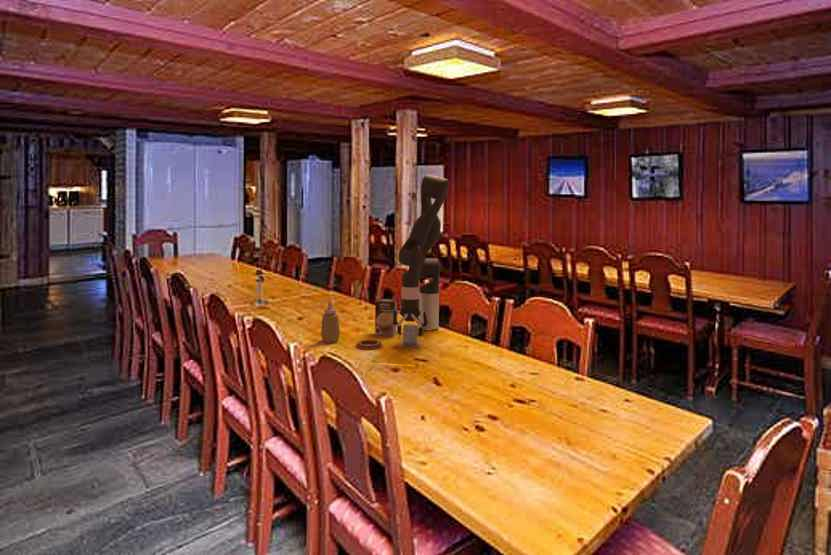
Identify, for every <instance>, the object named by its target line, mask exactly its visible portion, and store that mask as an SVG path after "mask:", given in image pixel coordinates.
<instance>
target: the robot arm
mask: <svg viewBox="0 0 831 555" xmlns="http://www.w3.org/2000/svg"><path fill="white" fill-rule="evenodd" d="M420 184H421V185H420V216H418V218H416V220H415V221H414V223H413V225H412V228H411V231H410V232H409V236H408V237H407V239H406V241H405V242H404V244H403V245H402V246H401V248H400V249H399V253H398V260H399V263H400V264H401V265H403V266H408V270H407V271H404V272H403V273H402V274H401V275H402V276H401V290H400V291H401V293H400V295H401V297H400V299H401V301H400V303H401V304H400V306H401V307H400V308H401V309H400V310H398V309H396V310H395V311H394V313H393V324H394V325H396V334H398V335H399V336H401V335H402V324H403V323H404V321H405V322H413V323H414V322H415V323H416V325H417V326H418V336H419V337H421V336H423V334H424V330H423V329H437V328H438V329H439V325H440V324H439V322H440V321H439V320H440V319H439V316H440V314H439V312H440V277H441V276H440V274H441V262H440V260H439V258H437V257H436V258H434V257H427V255H428V253H429V252H430V250H431V249H432V248H434V246H435V245H436V243H438V241H439V240H440V237H441V229H442V227H441V223H442V222H441V220H440V218H439V216H438V214H439V212H440V210H441V208H442V206H443V205H444V202H445V200H446V198H447V196H448V193H449V189H450V182H449V179H447V178H444V177H440V176H436V175H432V174H425V175H424V176H423V177H422V180H421V183H420ZM433 199H434V201H433V203H432V200H433ZM420 279H431V280H430V281H429V282H427V283H424V284H422V285H420ZM399 315H400V316H401V319H400V320H399V321H398V316H399ZM438 329H437V330H438Z"/></svg>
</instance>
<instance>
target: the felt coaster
mask: <svg viewBox="0 0 831 555" xmlns="http://www.w3.org/2000/svg"><path fill="white" fill-rule="evenodd" d="M398 345H399V346H400V347H403V348H406V349H407V348H408V349H410V348H413V349H414V348H419V347H421V346H422V344H421V343H420V342H417V345H416V346H405V345H403V341H402V342H400V343H399V344H398Z"/></svg>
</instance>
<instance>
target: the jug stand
mask: <svg viewBox="0 0 831 555" xmlns="http://www.w3.org/2000/svg"><path fill="white" fill-rule="evenodd" d="M354 349H356V350H359V351H370V352H371V351H378V350H381V349H384V344H382V340H381V341H380V340H378V339H372V338H367V339H361V340H358V341H357V342H356V344H355V345H354Z"/></svg>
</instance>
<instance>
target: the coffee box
mask: <svg viewBox="0 0 831 555" xmlns="http://www.w3.org/2000/svg"><path fill="white" fill-rule="evenodd" d="M397 300H398V299H395V298H392V299H391V298H377V299H376V300H375V302H374V304H375V306H374V308H375V310H374V314H375V315H374V317H375V318H374V335H375V336H382V337H383V336H384V337H385V336H386V337H388V336H389V337H395V336H396V335H397V325H394V324H393V313H394V311H395V310H397V309H398V308H397V305H398V304H397Z"/></svg>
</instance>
